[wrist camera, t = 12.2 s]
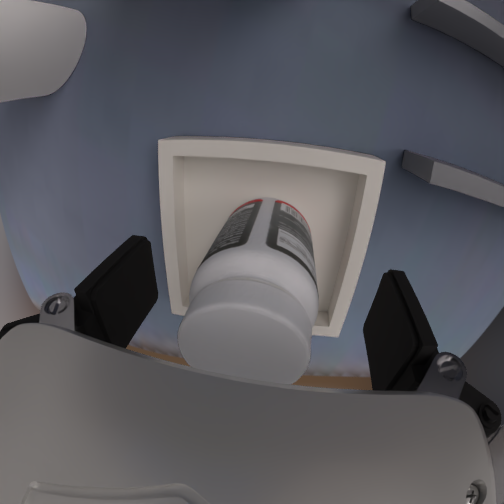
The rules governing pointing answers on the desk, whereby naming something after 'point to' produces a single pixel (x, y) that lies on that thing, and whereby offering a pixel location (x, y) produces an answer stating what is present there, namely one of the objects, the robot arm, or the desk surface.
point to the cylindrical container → (37, 47)
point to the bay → (488, 43)
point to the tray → (272, 186)
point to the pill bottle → (254, 296)
